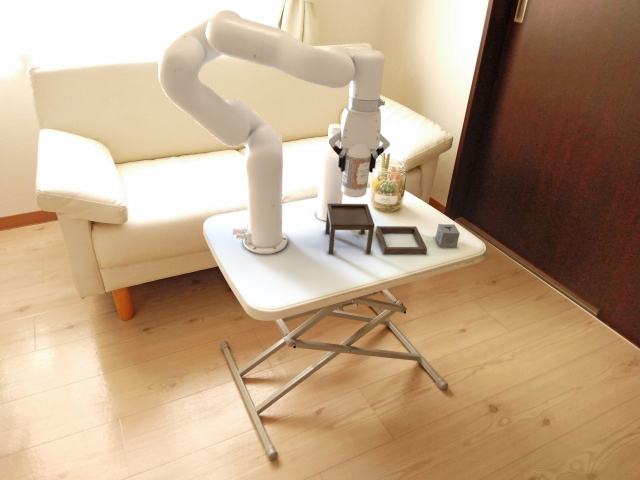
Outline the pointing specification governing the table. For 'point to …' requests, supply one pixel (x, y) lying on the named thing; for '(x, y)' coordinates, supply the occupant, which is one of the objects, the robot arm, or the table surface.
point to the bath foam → (356, 171)
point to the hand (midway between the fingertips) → (356, 169)
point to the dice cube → (447, 235)
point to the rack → (368, 228)
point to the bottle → (329, 176)
